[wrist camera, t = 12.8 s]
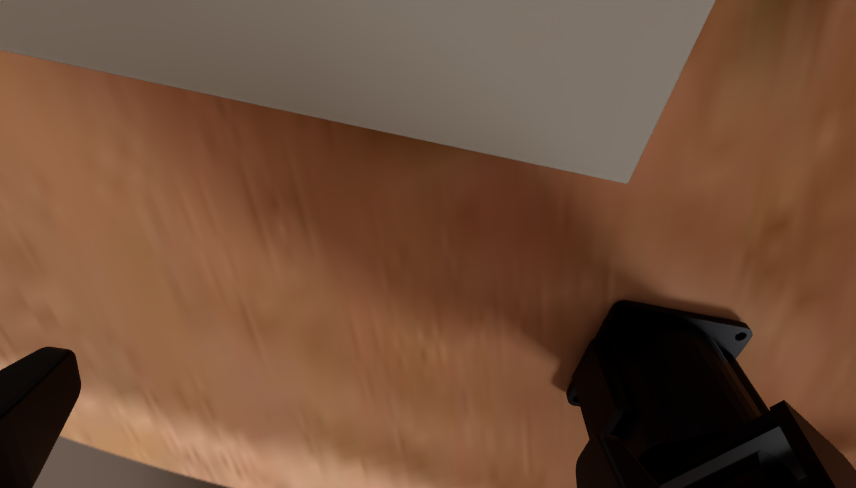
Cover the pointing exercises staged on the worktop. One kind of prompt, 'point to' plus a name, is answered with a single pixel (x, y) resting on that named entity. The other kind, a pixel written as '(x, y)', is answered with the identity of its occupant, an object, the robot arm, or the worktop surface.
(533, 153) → the switch panel
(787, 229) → the worktop surface
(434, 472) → the worktop surface
